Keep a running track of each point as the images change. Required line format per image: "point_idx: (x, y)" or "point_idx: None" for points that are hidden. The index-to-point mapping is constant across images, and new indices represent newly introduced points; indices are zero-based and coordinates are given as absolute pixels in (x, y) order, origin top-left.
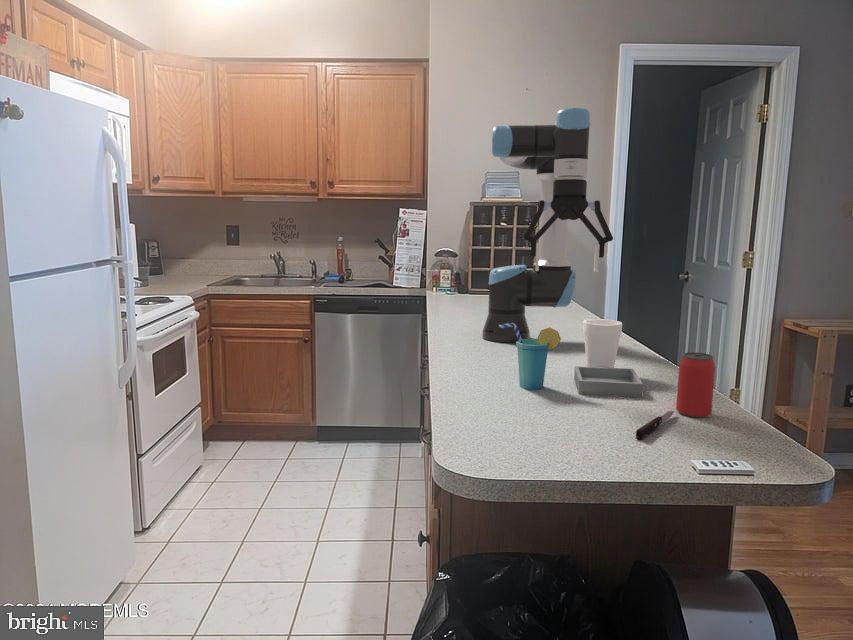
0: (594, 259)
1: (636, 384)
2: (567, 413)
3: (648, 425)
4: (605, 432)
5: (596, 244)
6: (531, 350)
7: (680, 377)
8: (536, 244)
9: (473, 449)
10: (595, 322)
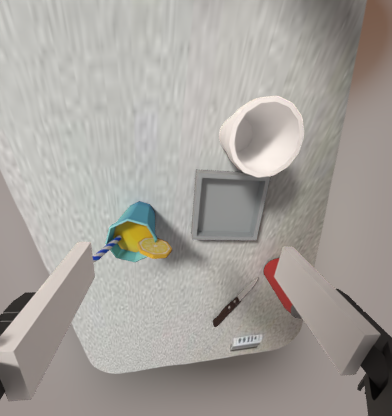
0: (306, 276)
1: (249, 239)
2: (173, 284)
3: (224, 317)
4: (195, 313)
5: (340, 373)
6: (131, 254)
7: (277, 293)
8: (16, 391)
9: (107, 349)
10: (260, 104)
